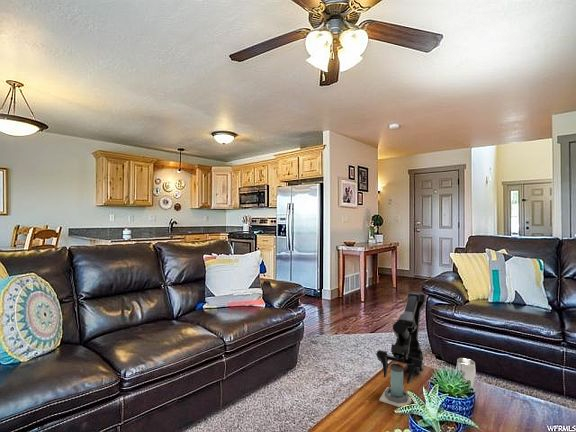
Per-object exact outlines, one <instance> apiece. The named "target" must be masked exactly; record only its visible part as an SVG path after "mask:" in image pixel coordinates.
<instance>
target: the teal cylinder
mask: <svg viewBox="0 0 576 432" xmlns="http://www.w3.org/2000/svg"><path fill="white" fill-rule="evenodd" d="M390 388H391V396H392V397H396V398H403V389H404V366H403V365H402V364H398V363H392V364H390Z"/></svg>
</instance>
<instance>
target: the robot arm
mask: <svg viewBox="0 0 576 432" xmlns="http://www.w3.org/2000/svg"><path fill="white" fill-rule="evenodd" d="M427 300H428V298H427V295H426V294H425V293H424V292H419V291H418V292H417V291H411V292H408V293H407V302H406V305H405V308H404V312H403V313H402V314H399V318H398V319H397V320H396V321H395V322H394V323H393V324H392V330H393V332H394V335H395V337H396V341H395V343H392V344H391V350H390V352H391V354H392V355H389V353H388V351H385V350H381V349H378V350H377V351H376V355H375V356H376V358H377V361H379V362H380V363H381V364H382V368H383V369H382V370H383V378H384V379H386V377H387V374H388V368H389V363H388V362H389V361H392V362H395V363H400V364H404V365H405V366H406V367H405V368H403V372H406V373H408V375H407V381H406V384H407V385H409V384H410V382H411V381H412V379H413V378H414V377H415V375H419V373H420V372H424V371H425V370H424V369H425V365H424V362H423V361H424V354H423V350H422V348H421V344H420V341H419V333H420V331H419V330H420V323H421V321H420V320H421V311H422V310H423V309H424V308H425V305H426V303H427Z"/></svg>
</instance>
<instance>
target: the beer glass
mask: <svg viewBox="0 0 576 432" xmlns="http://www.w3.org/2000/svg"><path fill="white" fill-rule="evenodd" d="M456 361H457V362H456V371H457V370H458V371H460V372H462V374H463V377H464V378H465V379H466V380H470V381H471V386H472V388H473V389H474V388H475V386H474V385H475V382H476V374H477V373H476V362H475V361H474V360H473V359H470V358H465V357H459V358H457V360H456Z"/></svg>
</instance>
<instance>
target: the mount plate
mask: <svg viewBox="0 0 576 432" xmlns="http://www.w3.org/2000/svg"><path fill="white" fill-rule="evenodd" d="M407 393H408V392H407V391H406V390H405V389H404V388H403V398H396V397H392V396H391V387H389V386H386V389H384V392H383V393H382V394H381V396H380V397H379V402H382V403H385V404H389V405H391V406H395V407H398V408H401V407H400V406H403V405H407V404H410V405H411V403H412V402H413V401H412V400H413V399H412V400H411V398H410V397H409V396H408V395H407Z"/></svg>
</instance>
